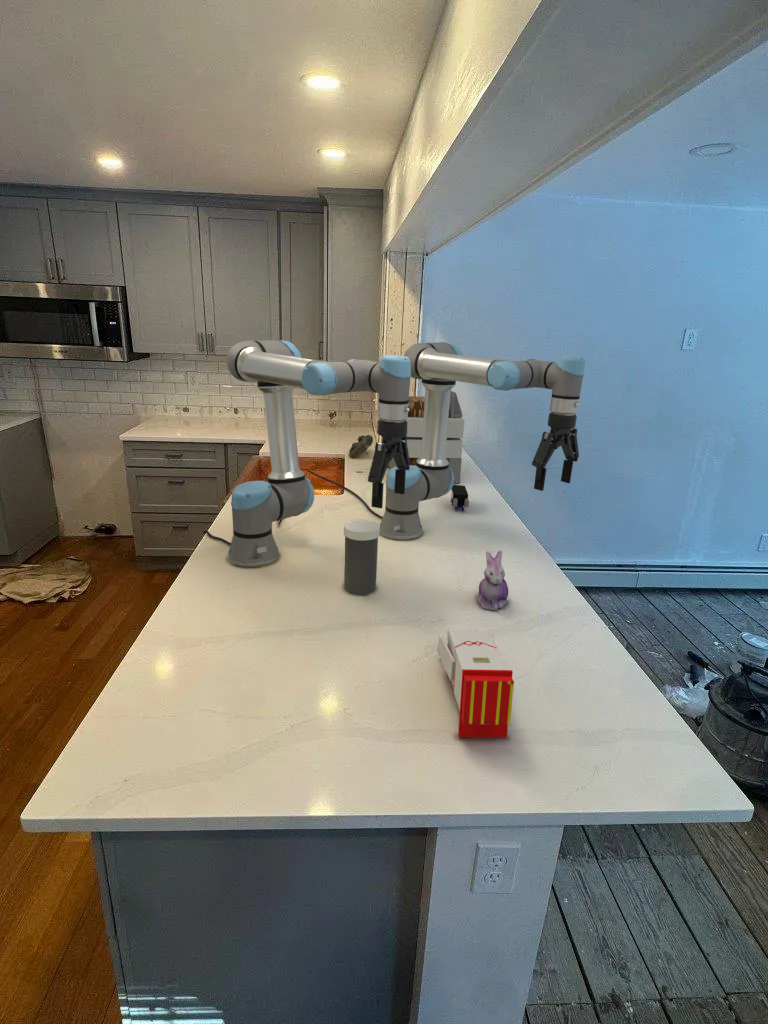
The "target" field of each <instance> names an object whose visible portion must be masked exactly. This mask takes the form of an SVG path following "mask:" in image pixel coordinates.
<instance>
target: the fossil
mask: <svg viewBox="0 0 768 1024" xmlns="http://www.w3.org/2000/svg"><path fill="white" fill-rule="evenodd" d="M357 441H358V442H353V443H352V444H351V447H350V448H349V451H348V456H349V458H351V459H355V458H357V457H359V456H361V455H362V454H364V452H365V453H366V455H369V453H368V451H367V450H368V449H369V448H370V447H371V446H372V444H373V443H374V437H373V436H372V435H370V434H366V435H364V434H363V435H359V436H358V437H357Z"/></svg>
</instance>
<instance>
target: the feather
mask: <svg viewBox="0 0 768 1024" xmlns="http://www.w3.org/2000/svg"><path fill="white" fill-rule="evenodd" d="M282 522H283V519H281V520H278V521H275V523H274V524H276V523H277V524H278V526H277V527H278V528H279V527H280V525H281V524H282Z"/></svg>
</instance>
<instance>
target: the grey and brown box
mask: <svg viewBox="0 0 768 1024" xmlns="http://www.w3.org/2000/svg"><path fill="white" fill-rule="evenodd" d="M424 404H425V396H415V395H414V396H413V395H412V396H411V395H409V405H408V408H409V409H410V411H409V412H408V418H407V419H406V421H407V422H408V424H407V447H408V453H409V460H410V465H413V466H416V461H417V459H418V458H420V457H421V449H422V434H423V419H424ZM464 429H465V419H464V418H463V411H462V408H461V405H460V402H459V398H458V395H457V392H455V391H453V390H451V392H450V404H449V416H448V428H447V441H446V453H445V458H446V459H447V461H448V462H449V466H450V467H451V469H452V473H454V484H455V483H456V484H459V483H461V472H462V461H463V460H462V453H463V442H464V441H463V440H462V439H463V438H464V431H465V430H464ZM405 461H406V460H405ZM394 467H396V463H395V460H394V458H392V460H391V461H389V464H388V466H387V468H389V470H390V469H392V468H394Z"/></svg>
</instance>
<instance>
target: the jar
mask: <svg viewBox="0 0 768 1024" xmlns="http://www.w3.org/2000/svg"><path fill="white" fill-rule="evenodd" d="M378 545H379V536H378V537H377V538H375V539H372V540H365V541H361V540H353V539H350V538H348V537H346V536H345V535H344V568H343V569H344V570H343V571H344V573H343V589H344V591H345V592H347V593H348V594H351V595H355V596H366V595H370V594H373V593H374V592H375V591H376V589H377V575H378V574H377V569H378V551H379V550H378V548H379V547H378Z"/></svg>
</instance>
